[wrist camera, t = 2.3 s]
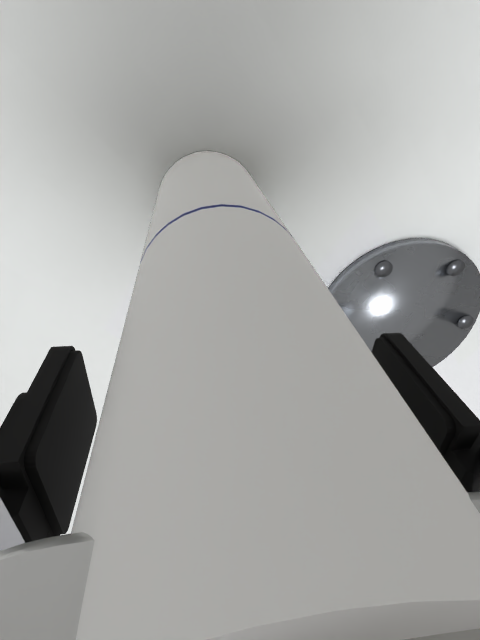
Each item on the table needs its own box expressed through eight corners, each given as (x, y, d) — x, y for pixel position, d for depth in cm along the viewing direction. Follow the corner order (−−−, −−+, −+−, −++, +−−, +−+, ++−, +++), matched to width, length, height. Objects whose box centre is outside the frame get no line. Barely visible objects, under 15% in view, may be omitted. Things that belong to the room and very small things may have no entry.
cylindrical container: (204, 125, 23) (370, 520, 2) (278, 203, 26) (616, 651, 6) (136, 208, 25) (-91, 780, 5) (211, 269, 29) (278, 765, 8)
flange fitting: (502, 237, 30) (559, 266, 26) (440, 373, 38) (475, 413, 34) (226, 239, 27) (234, 271, 23) (223, 385, 36) (228, 430, 31)
